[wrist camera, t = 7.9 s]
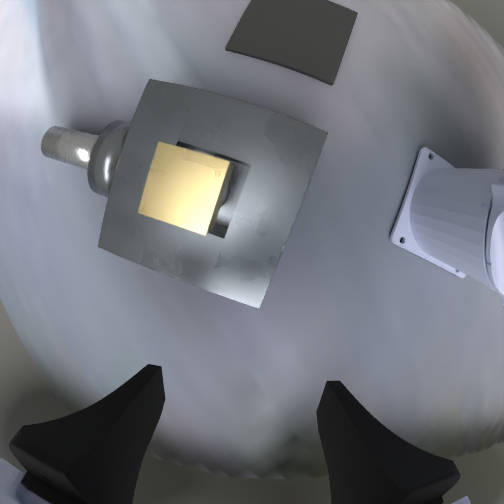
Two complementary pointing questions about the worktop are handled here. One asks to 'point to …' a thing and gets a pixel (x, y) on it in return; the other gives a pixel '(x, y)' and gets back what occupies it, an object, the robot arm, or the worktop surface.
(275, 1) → the mat
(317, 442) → the worktop surface
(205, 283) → the chuck
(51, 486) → the robot arm
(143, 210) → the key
